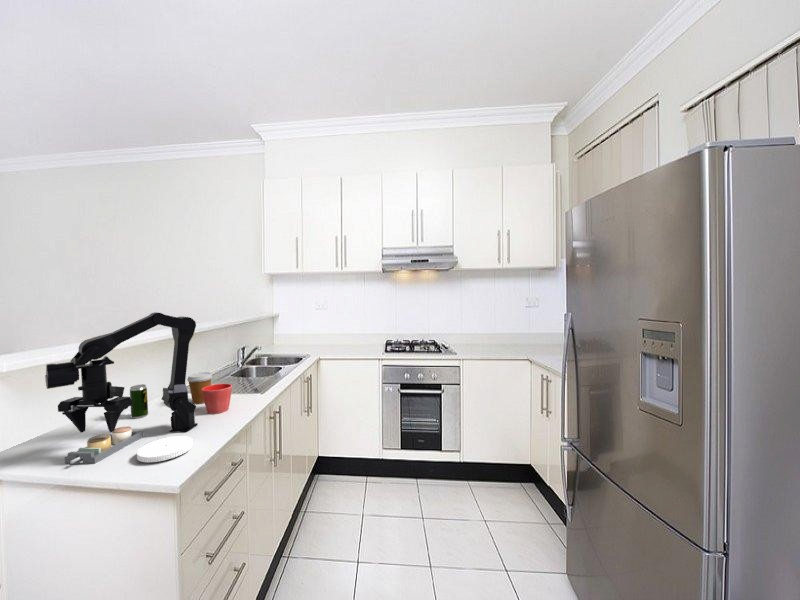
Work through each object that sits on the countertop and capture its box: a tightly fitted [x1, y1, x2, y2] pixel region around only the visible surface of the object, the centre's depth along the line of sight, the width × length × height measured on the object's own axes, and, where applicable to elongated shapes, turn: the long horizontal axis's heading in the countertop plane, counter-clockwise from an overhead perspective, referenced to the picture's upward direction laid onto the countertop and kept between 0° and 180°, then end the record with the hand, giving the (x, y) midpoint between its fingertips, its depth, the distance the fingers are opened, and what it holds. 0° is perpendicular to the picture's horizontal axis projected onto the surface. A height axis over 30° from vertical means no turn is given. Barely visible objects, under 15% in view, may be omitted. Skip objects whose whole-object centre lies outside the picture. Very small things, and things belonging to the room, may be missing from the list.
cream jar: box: [111, 426, 133, 445], centre depth 115 cm, size 5×5×4 cm
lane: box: [64, 430, 145, 465], centre depth 110 cm, size 9×18×3 cm, turn 177°
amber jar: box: [86, 433, 112, 452], centre depth 107 cm, size 6×6×5 cm
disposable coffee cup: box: [186, 371, 213, 405], centre depth 154 cm, size 10×10×12 cm
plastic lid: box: [136, 435, 194, 463], centre depth 106 cm, size 14×14×2 cm
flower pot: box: [202, 383, 233, 415], centre depth 143 cm, size 11×11×10 cm
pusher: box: [70, 447, 101, 465], centre depth 102 cm, size 6×6×3 cm
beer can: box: [129, 384, 149, 420], centre depth 138 cm, size 5×5×12 cm
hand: (97, 431), depth 107 cm, fingers open, 9 cm apart
